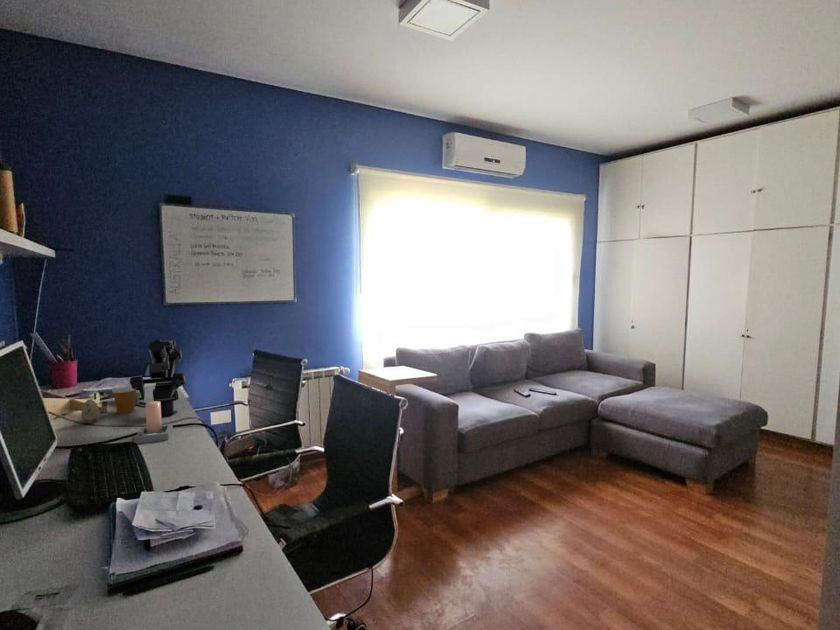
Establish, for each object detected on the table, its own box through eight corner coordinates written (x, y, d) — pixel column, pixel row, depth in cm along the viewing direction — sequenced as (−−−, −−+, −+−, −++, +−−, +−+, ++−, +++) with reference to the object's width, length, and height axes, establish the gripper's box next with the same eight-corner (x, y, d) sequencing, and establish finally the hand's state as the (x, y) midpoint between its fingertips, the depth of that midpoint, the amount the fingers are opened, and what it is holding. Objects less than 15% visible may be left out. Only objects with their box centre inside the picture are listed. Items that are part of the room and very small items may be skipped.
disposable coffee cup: (141, 411, 190) (139, 385, 189) (116, 416, 183) (114, 389, 182) (135, 407, 197) (134, 381, 196) (110, 411, 190) (109, 385, 189)
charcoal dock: (141, 433, 163) (140, 427, 163) (172, 430, 167) (172, 423, 167) (134, 443, 153) (134, 436, 153) (168, 439, 158) (168, 432, 157)
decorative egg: (95, 419, 179) (93, 396, 178) (103, 421, 177) (101, 398, 176) (79, 424, 174) (77, 400, 173) (87, 426, 171) (85, 402, 171)
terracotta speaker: (145, 435, 160) (144, 402, 159) (159, 431, 164) (158, 400, 163) (149, 438, 157) (147, 405, 156) (163, 435, 160) (162, 403, 159)
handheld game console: (129, 383, 242) (128, 367, 241) (146, 377, 255) (145, 362, 254) (155, 383, 240) (154, 367, 240) (171, 378, 254) (170, 362, 253)
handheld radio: (121, 399, 210) (151, 406, 199) (113, 401, 207) (144, 408, 196) (119, 386, 209) (150, 392, 198) (112, 388, 206) (143, 394, 195)
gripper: (129, 356, 166) (123, 390, 157) (183, 353, 174) (180, 385, 164) (135, 372, 174) (130, 405, 165) (186, 368, 182) (184, 400, 172)
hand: (156, 398), depth 167 cm, fingers open, 9 cm apart
